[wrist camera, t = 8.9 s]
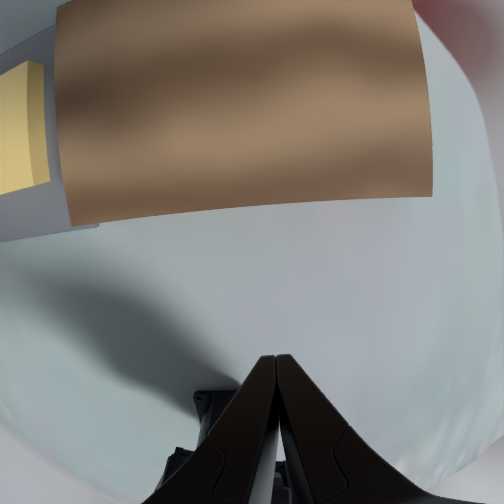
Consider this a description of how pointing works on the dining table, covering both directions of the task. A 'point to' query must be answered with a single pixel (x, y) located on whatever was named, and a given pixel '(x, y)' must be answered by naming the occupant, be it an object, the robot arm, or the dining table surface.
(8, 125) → the yellow rectangular block
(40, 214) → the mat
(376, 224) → the dining table surface
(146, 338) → the dining table surface
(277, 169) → the brown wooden flat block
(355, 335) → the dining table surface
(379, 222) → the dining table surface
